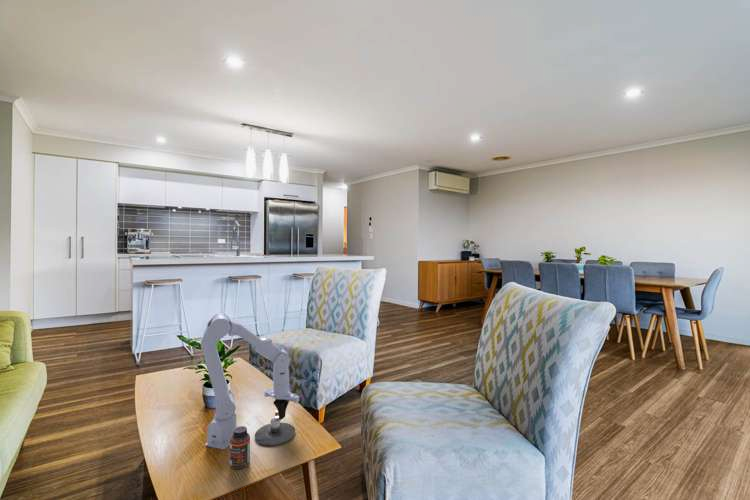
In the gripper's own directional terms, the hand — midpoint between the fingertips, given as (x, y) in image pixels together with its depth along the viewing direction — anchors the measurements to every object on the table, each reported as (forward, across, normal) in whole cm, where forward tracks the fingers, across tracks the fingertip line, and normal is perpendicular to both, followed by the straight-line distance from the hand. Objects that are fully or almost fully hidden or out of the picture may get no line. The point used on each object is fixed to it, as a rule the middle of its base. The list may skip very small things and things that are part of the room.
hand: (282, 417), depth 134 cm
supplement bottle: (+4, -2, +23) cm, 23 cm away
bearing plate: (+4, -1, +5) cm, 6 cm away
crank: (+3, +1, +3) cm, 4 cm away
